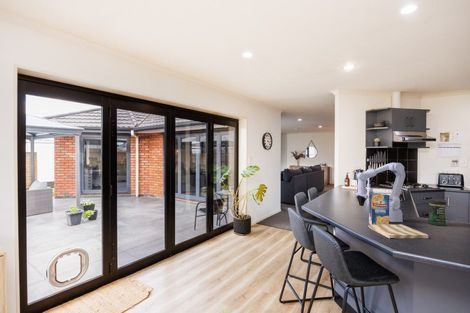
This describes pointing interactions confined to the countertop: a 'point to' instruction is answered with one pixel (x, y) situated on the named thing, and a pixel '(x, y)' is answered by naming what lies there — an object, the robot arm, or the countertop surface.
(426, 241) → the countertop surface
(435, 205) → the coffee jar
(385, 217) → the beverage box
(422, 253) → the countertop surface
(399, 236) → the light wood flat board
